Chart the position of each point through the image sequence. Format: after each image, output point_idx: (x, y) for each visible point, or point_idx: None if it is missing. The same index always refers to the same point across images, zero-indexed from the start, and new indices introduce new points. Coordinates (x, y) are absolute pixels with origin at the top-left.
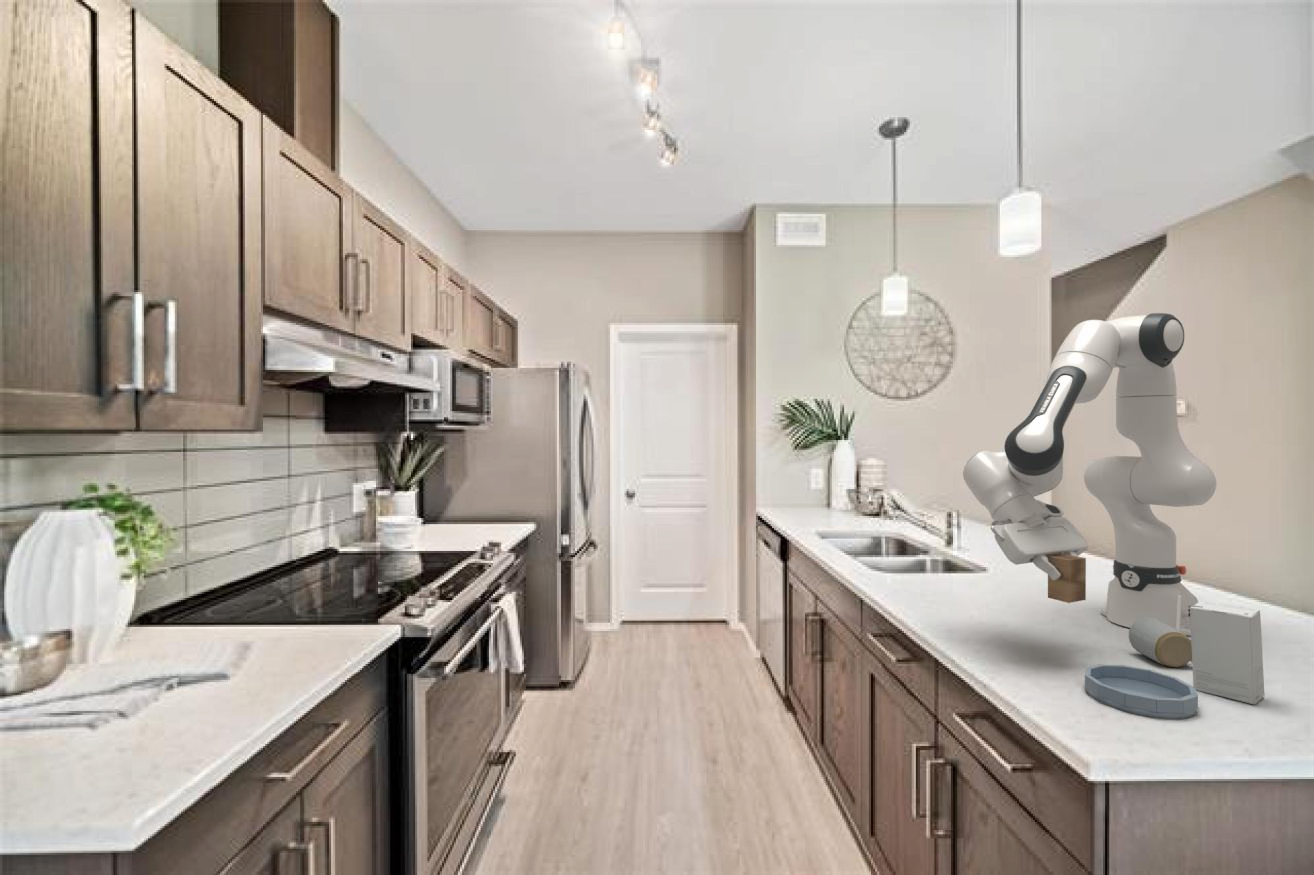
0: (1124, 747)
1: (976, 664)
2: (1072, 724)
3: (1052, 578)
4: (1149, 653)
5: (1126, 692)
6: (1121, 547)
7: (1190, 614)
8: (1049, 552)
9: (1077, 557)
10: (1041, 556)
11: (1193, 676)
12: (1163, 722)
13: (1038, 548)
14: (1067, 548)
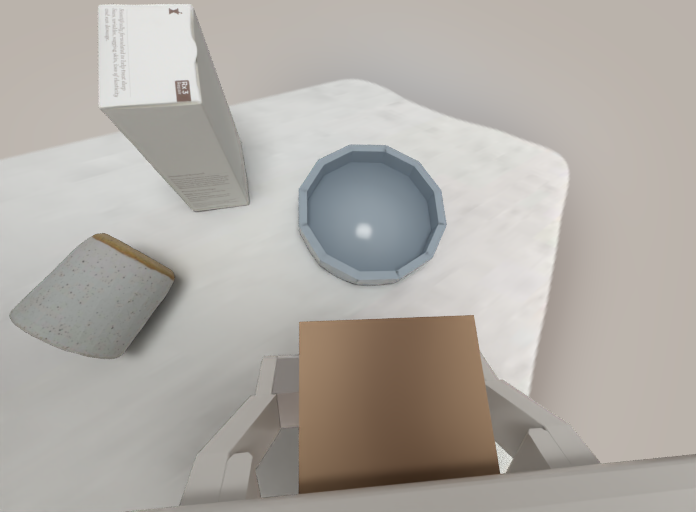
0: (516, 156)
1: None
2: (527, 210)
3: None
4: (164, 297)
5: (435, 191)
6: None
7: (208, 116)
8: (524, 472)
9: (334, 357)
10: (589, 458)
11: (244, 194)
12: None
13: (674, 506)
14: (281, 506)
